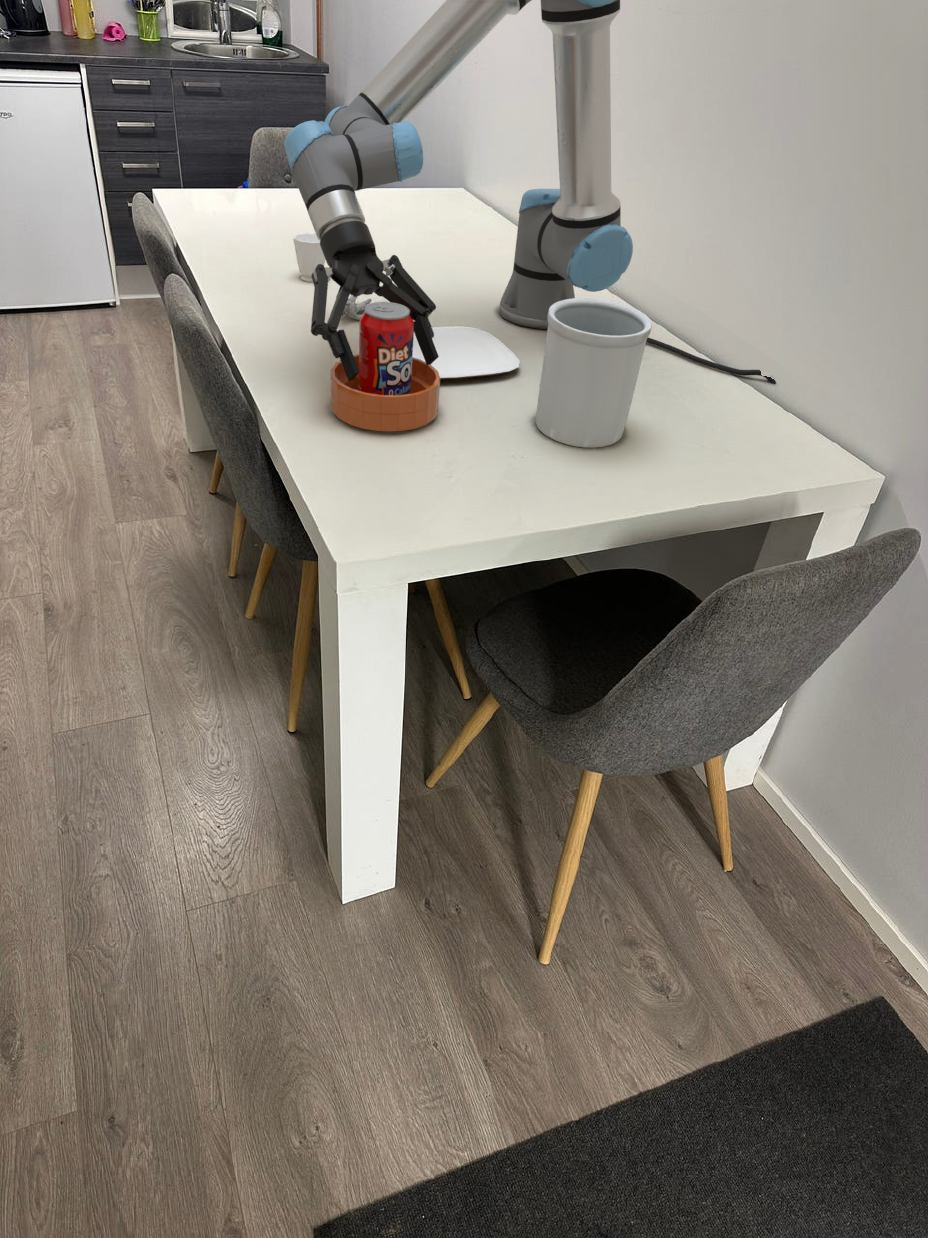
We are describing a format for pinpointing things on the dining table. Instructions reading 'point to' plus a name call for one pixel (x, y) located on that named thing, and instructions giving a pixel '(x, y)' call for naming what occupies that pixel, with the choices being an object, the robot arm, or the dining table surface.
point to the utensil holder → (590, 370)
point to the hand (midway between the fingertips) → (394, 368)
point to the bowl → (386, 400)
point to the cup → (308, 254)
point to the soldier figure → (354, 307)
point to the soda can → (385, 349)
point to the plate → (468, 353)
